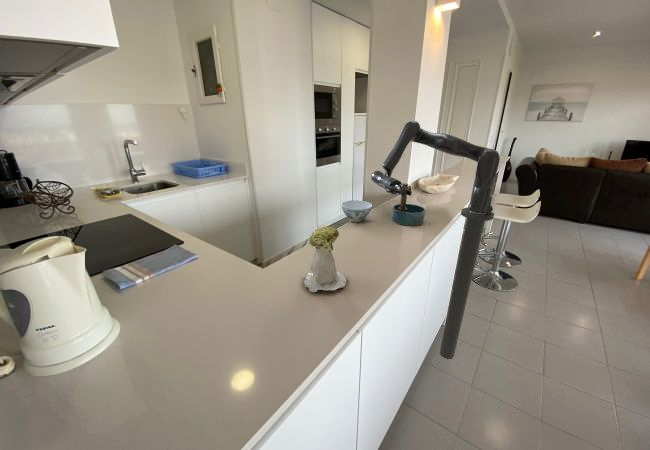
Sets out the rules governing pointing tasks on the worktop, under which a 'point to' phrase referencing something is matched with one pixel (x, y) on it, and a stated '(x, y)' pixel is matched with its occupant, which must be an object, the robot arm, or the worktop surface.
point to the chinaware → (356, 209)
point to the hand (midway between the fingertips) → (407, 193)
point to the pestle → (403, 199)
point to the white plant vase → (324, 262)
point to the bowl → (409, 215)
